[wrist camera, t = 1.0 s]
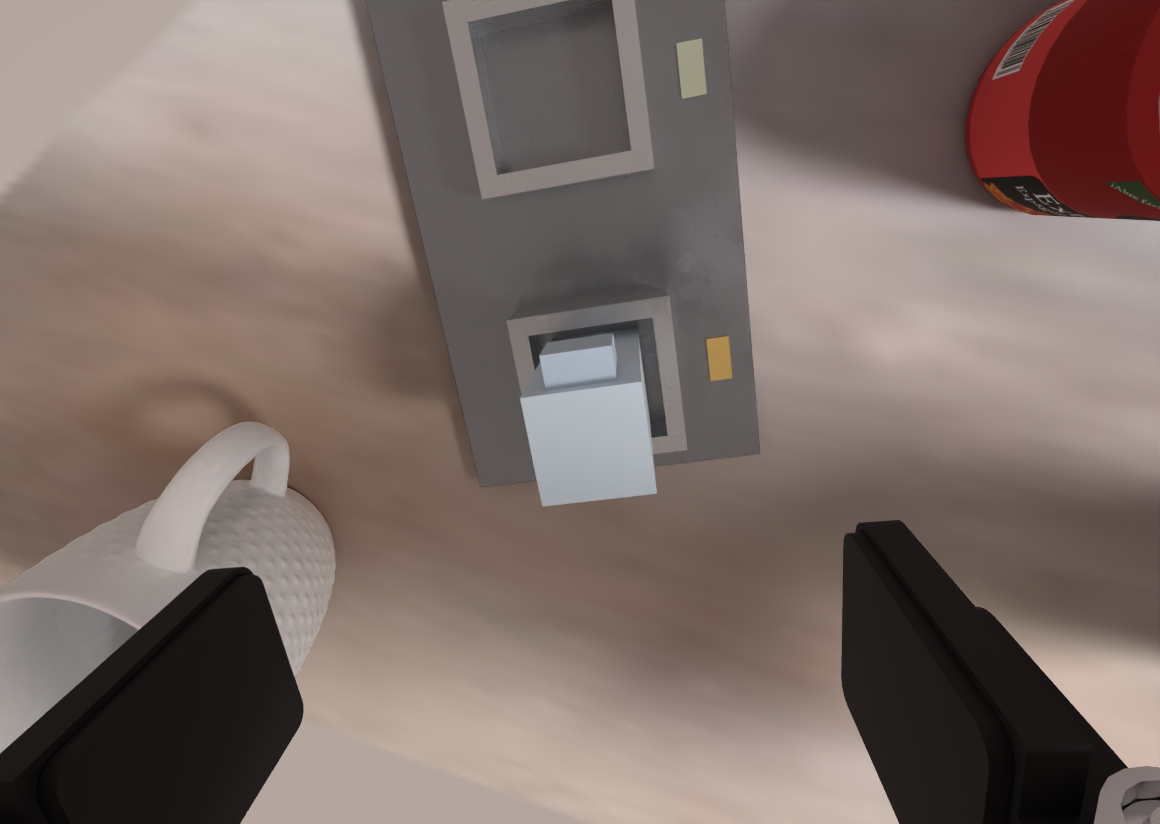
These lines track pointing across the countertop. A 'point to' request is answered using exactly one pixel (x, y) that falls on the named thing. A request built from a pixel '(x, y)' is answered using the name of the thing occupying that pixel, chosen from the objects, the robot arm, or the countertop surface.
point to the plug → (590, 419)
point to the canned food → (1073, 113)
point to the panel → (577, 204)
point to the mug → (165, 570)
